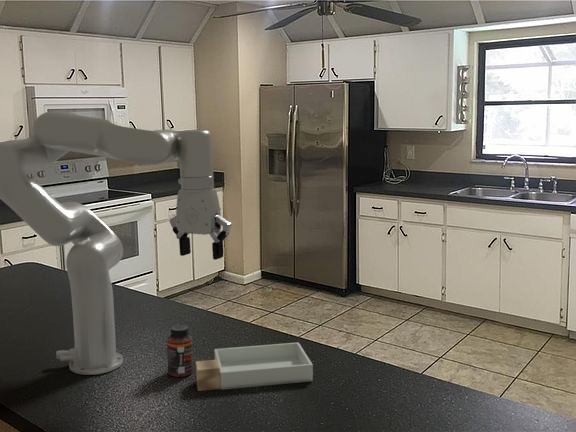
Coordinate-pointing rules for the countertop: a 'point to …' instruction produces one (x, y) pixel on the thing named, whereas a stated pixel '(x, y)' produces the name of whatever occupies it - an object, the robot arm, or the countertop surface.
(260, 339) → the countertop surface
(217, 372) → the maple cube
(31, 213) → the robot arm
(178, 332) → the supplement bottle
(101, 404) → the countertop surface
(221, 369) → the tray
